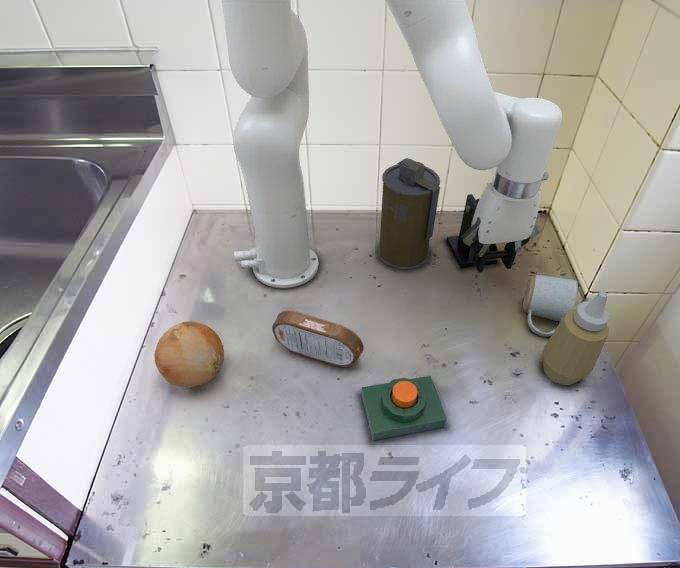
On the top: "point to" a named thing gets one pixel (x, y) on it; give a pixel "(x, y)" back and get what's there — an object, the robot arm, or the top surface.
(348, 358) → the tin
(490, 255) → the lever
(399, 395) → the button
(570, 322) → the squeeze bottle
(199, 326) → the onion
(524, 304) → the ceramic mug
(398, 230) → the canister
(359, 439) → the top surface
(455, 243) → the bracket
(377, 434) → the button box
